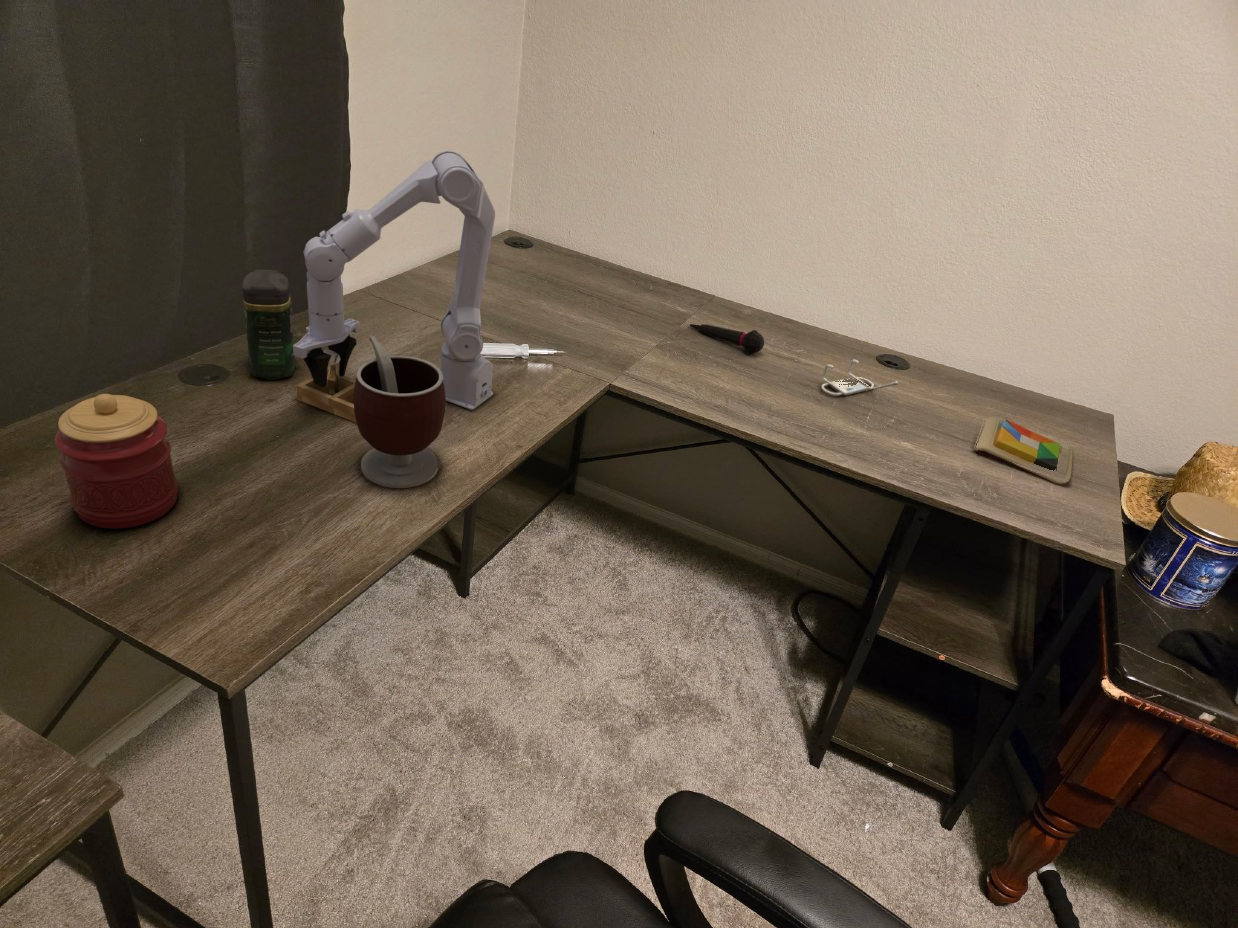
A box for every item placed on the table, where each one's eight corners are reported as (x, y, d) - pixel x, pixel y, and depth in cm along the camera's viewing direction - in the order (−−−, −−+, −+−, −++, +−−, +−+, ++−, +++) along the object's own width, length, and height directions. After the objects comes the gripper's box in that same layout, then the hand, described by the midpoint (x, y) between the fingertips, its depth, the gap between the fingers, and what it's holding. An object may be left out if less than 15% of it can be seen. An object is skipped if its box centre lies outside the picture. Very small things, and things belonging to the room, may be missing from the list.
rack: (394, 408, 145) (394, 394, 144) (366, 427, 139) (365, 412, 137) (327, 383, 149) (327, 369, 148) (297, 399, 143) (296, 385, 141)
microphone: (685, 340, 198) (757, 361, 189) (683, 321, 194) (757, 341, 185) (696, 328, 201) (768, 348, 192) (695, 309, 197) (768, 328, 188)
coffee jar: (295, 381, 148) (288, 287, 138) (249, 381, 145) (238, 286, 135) (296, 357, 155) (289, 266, 145) (251, 357, 153) (241, 264, 143)
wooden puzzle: (1066, 488, 160) (1074, 474, 158) (971, 453, 166) (978, 439, 164) (1070, 453, 173) (1077, 439, 171) (982, 421, 179) (988, 408, 178)
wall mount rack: (855, 374, 190) (862, 353, 187) (898, 402, 181) (907, 379, 178) (809, 384, 182) (817, 361, 178) (853, 413, 173) (861, 390, 170)
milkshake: (329, 408, 142) (325, 358, 137) (310, 396, 144) (306, 346, 139) (350, 400, 145) (348, 351, 140) (332, 388, 148) (329, 340, 142)
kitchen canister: (194, 481, 120) (177, 378, 110) (155, 535, 109) (132, 426, 99) (103, 472, 118) (77, 366, 109) (54, 525, 107) (21, 414, 98)
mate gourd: (459, 474, 132) (465, 367, 121) (384, 501, 123) (383, 388, 112) (408, 431, 140) (409, 327, 129) (334, 453, 131) (329, 344, 120)
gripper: (335, 290, 142) (338, 358, 150) (276, 315, 131) (282, 387, 138) (368, 302, 140) (369, 370, 148) (310, 328, 129) (315, 400, 136)
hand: (329, 379), depth 143 cm, fingers closed on milkshake, 4 cm apart
